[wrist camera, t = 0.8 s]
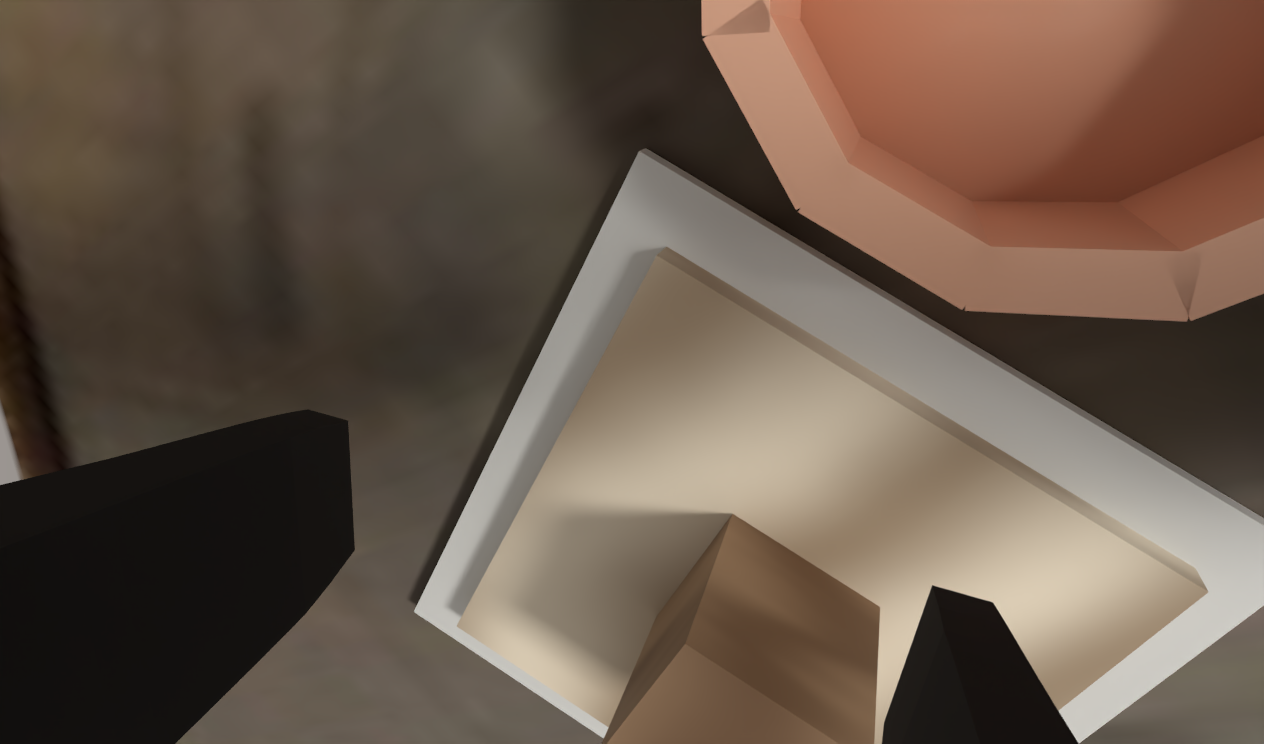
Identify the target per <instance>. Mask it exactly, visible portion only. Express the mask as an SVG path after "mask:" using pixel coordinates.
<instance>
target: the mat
mask: <svg viewBox="0 0 1264 744" xmlns="http://www.w3.org/2000/svg"><path fill="white" fill-rule="evenodd" d="M666 247H668V248H670V249H672V250H673V251H675V252H677V253H678V254H680V255H682V256H683V257H685V258H686V259H688V260H690V261H691V262H693V263H695V264H696V265H698V266H700V267H701V268H703V269H705V270H706V271H708V272H710V273H711V274H713V275H714V276H716V277H718V278H719V279H721V280H723V281H724V282H726V283H728V284H729V285H731V286H733V287H734V288H736V289H737V290H739V291H741V292H742V293H744V294H746V295H747V296H749V297H751V298H752V299H754V300H756V301H757V302H759V303H760V304H762V305H764V306H765V307H767V308H769V309H770V310H772V311H774V312H775V313H777V314H779V315H780V316H782V317H783V318H785V319H787V320H788V321H790V322H792V323H793V324H795V325H797V326H798V327H800V328H802V329H803V330H805V331H806V332H808V333H810V334H811V335H813V336H815V337H816V338H818V339H820V340H821V341H823V342H825V343H826V344H828V345H829V346H831V347H833V348H834V349H836V350H838V351H839V352H841V353H843V354H844V355H846V356H848V357H849V358H851V359H852V360H854V361H856V362H857V363H859V364H861V365H862V366H864V367H866V368H867V369H869V370H871V371H872V372H874V373H875V374H877V375H879V376H880V377H882V378H884V379H885V380H887V381H889V382H890V383H892V384H894V385H895V386H897V387H899V388H900V389H902V390H903V391H905V392H907V393H908V394H910V395H912V396H913V397H915V398H917V399H918V400H920V401H922V402H923V403H925V404H926V405H928V406H930V407H931V408H933V409H935V410H936V411H938V412H940V413H941V414H943V415H945V416H946V417H948V418H949V419H951V420H953V421H954V422H956V423H958V424H959V425H961V426H963V427H964V428H966V429H968V430H969V431H971V432H972V433H974V434H976V435H977V436H979V437H981V438H982V439H984V440H986V441H987V442H989V443H991V444H992V445H994V446H995V447H997V448H999V449H1000V450H1002V451H1004V452H1005V453H1007V454H1009V455H1010V456H1012V457H1014V458H1015V459H1017V460H1018V461H1020V462H1022V463H1023V464H1025V465H1027V466H1028V467H1030V468H1032V469H1033V470H1035V471H1037V472H1038V473H1040V474H1041V475H1043V476H1045V477H1046V478H1048V479H1050V480H1051V481H1053V482H1055V483H1056V484H1058V485H1060V486H1061V487H1063V488H1064V489H1066V490H1068V491H1069V492H1071V493H1073V494H1074V495H1076V496H1078V497H1079V498H1081V499H1083V500H1084V501H1086V502H1088V503H1089V504H1091V505H1092V506H1094V507H1096V508H1097V509H1099V510H1101V511H1102V512H1104V513H1106V514H1107V515H1109V516H1111V517H1112V518H1114V519H1115V520H1117V521H1119V522H1120V523H1122V524H1124V525H1125V526H1127V527H1129V528H1130V529H1132V530H1134V531H1135V532H1137V533H1138V534H1140V535H1142V536H1143V537H1145V538H1147V539H1148V540H1150V541H1152V542H1153V543H1155V544H1157V545H1158V546H1160V547H1161V548H1163V549H1165V550H1166V551H1168V552H1170V553H1171V554H1173V555H1175V556H1176V557H1178V558H1180V559H1181V560H1183V561H1184V562H1186V563H1188V564H1189V565H1191V566H1193V567H1194V568H1196V570H1197V572H1198V574H1199V575H1200V577H1201V579H1202V581H1203V583H1204V584H1205V586H1206V588H1207V590H1208V593H1207V594H1206V595H1204V596H1203V597H1202V598H1201V599H1199V600H1198V601H1197V602H1196V603H1194V604H1193V605H1192V606H1190V607H1189V608H1188V609H1187V610H1185V611H1184V612H1183V613H1182V614H1180V615H1179V616H1178V617H1177V618H1175V619H1174V620H1173V621H1171V622H1170V623H1169V624H1168V625H1166V626H1165V627H1164V628H1163V629H1161V630H1160V631H1159V632H1158V633H1156V634H1155V635H1154V636H1152V637H1151V638H1150V639H1149V640H1147V641H1146V642H1145V643H1144V644H1142V645H1141V646H1140V647H1139V648H1137V649H1136V650H1135V651H1133V652H1132V653H1131V654H1130V655H1128V656H1127V657H1126V658H1125V659H1123V660H1122V661H1121V662H1120V663H1118V664H1117V665H1116V666H1114V667H1113V668H1112V669H1111V670H1109V671H1108V672H1107V673H1106V674H1104V675H1103V676H1102V677H1101V678H1099V679H1098V680H1097V681H1095V682H1094V683H1093V684H1092V685H1090V686H1089V687H1088V688H1087V689H1085V690H1084V691H1083V692H1081V693H1080V694H1079V695H1078V696H1076V697H1075V698H1074V699H1073V700H1071V701H1070V702H1069V703H1068V704H1066V705H1065V706H1064V707H1062V708H1061V709H1060V710H1059V713H1060V714H1061V716H1062V717H1063V719H1064V721H1065V722H1066V724H1067V726H1068V727H1069V729H1070V730H1071V732H1072V734H1073V735H1074V737H1075V738H1076V740H1077V742H1078V743H1080V742H1081V741H1083V740H1084V739H1085V738H1087V737H1088V736H1089V735H1091V734H1092V733H1093V732H1095V731H1096V730H1097V729H1099V728H1100V727H1102V726H1103V725H1104V724H1106V723H1107V722H1108V721H1110V720H1111V719H1112V718H1114V717H1115V716H1116V715H1118V714H1119V713H1120V712H1122V711H1123V710H1124V709H1126V708H1127V707H1128V706H1130V705H1131V704H1132V703H1134V702H1135V701H1136V700H1138V699H1139V698H1140V697H1142V696H1143V695H1144V694H1146V693H1147V692H1148V691H1150V690H1151V689H1152V688H1154V687H1155V686H1156V685H1158V684H1159V683H1160V682H1162V681H1163V680H1164V679H1166V678H1167V677H1168V676H1170V675H1171V674H1172V673H1174V672H1175V671H1177V670H1178V669H1179V668H1181V667H1182V666H1183V665H1185V664H1186V663H1187V662H1189V661H1190V660H1191V659H1193V658H1194V657H1195V656H1197V655H1198V654H1199V653H1201V652H1202V651H1203V650H1205V649H1206V648H1207V647H1209V646H1210V645H1211V644H1213V643H1214V642H1215V641H1217V640H1218V639H1219V638H1221V637H1222V636H1223V635H1225V634H1226V633H1227V632H1229V631H1230V630H1231V629H1233V628H1234V627H1235V626H1237V625H1238V624H1239V623H1241V622H1242V621H1243V620H1245V619H1246V618H1247V617H1249V616H1250V615H1251V614H1253V613H1254V612H1256V611H1257V610H1258V609H1260V608H1261V607H1262V606H1264V518H1263V517H1261V516H1259V515H1258V514H1256V513H1254V512H1253V511H1251V510H1249V509H1248V508H1246V507H1244V506H1243V505H1241V504H1239V503H1238V502H1236V501H1234V500H1233V499H1231V498H1229V497H1228V496H1226V495H1224V494H1223V493H1221V492H1219V491H1218V490H1216V489H1214V488H1213V487H1211V486H1209V485H1208V484H1206V483H1204V482H1203V481H1201V480H1199V479H1198V478H1196V477H1194V476H1193V475H1191V474H1189V473H1188V472H1186V471H1184V470H1182V469H1181V468H1179V467H1177V466H1176V465H1174V464H1172V463H1171V462H1169V461H1167V460H1166V459H1164V458H1162V457H1161V456H1159V455H1157V454H1156V453H1154V452H1152V451H1151V450H1149V449H1147V448H1146V447H1144V446H1142V445H1141V444H1139V443H1137V442H1136V441H1134V440H1132V439H1131V438H1129V437H1127V436H1126V435H1124V434H1122V433H1121V432H1119V431H1117V430H1116V429H1114V428H1112V427H1111V426H1109V425H1107V424H1106V423H1104V422H1102V421H1101V420H1099V419H1097V418H1096V417H1094V416H1092V415H1091V414H1089V413H1087V412H1086V411H1084V410H1082V409H1081V408H1079V407H1077V406H1076V405H1074V404H1072V403H1071V402H1069V401H1067V400H1066V399H1064V398H1062V397H1061V396H1059V395H1057V394H1056V393H1054V392H1052V391H1051V390H1049V389H1047V388H1046V387H1044V386H1042V385H1041V384H1039V383H1037V382H1036V381H1034V380H1032V379H1031V378H1029V377H1027V376H1026V375H1024V374H1022V373H1021V372H1019V371H1017V370H1016V369H1014V368H1012V367H1011V366H1009V365H1007V364H1006V363H1004V362H1002V361H1001V360H999V359H997V358H996V357H994V356H992V355H991V354H989V353H987V352H986V351H984V350H982V349H981V348H979V347H977V346H975V345H974V344H972V343H970V342H969V341H967V340H965V339H964V338H962V337H960V336H959V335H957V334H955V333H954V332H952V331H950V330H949V329H947V328H945V327H944V326H942V325H940V324H939V323H937V322H935V321H934V320H932V319H930V318H929V317H927V316H925V315H924V314H922V313H920V312H919V311H917V310H915V309H914V308H912V307H910V306H909V305H907V304H905V303H904V302H902V301H900V300H899V299H897V298H895V297H894V296H892V295H890V294H889V293H887V292H885V291H884V290H882V289H880V288H879V287H877V286H875V285H874V284H872V283H870V282H869V281H867V280H865V279H864V278H862V277H860V276H859V275H857V274H855V273H854V272H852V271H850V270H849V269H847V268H845V267H844V266H842V265H840V264H839V263H837V262H835V261H834V260H832V259H830V258H829V257H827V256H825V255H824V254H822V253H820V252H819V251H817V250H815V249H814V248H812V247H810V246H809V245H807V244H805V243H804V242H802V241H800V240H799V239H797V238H795V237H794V236H792V235H790V234H789V233H787V232H785V231H784V230H782V229H780V228H779V227H777V226H775V225H774V224H772V223H770V222H768V221H767V220H765V219H763V218H762V217H760V216H758V215H757V214H755V213H753V212H752V211H750V210H748V209H747V208H745V207H743V206H742V205H740V204H738V203H737V202H735V201H733V200H732V199H730V198H728V197H727V196H725V195H723V194H722V193H720V192H718V191H717V190H715V189H713V188H712V187H710V186H708V185H707V184H705V183H703V182H702V181H700V180H698V179H697V178H695V177H693V176H692V175H690V174H688V173H687V172H685V171H683V170H682V169H680V168H678V167H677V166H675V165H673V164H672V163H670V162H668V161H667V160H665V159H663V158H662V157H660V156H658V155H657V154H655V153H653V152H652V151H650V150H648V149H647V148H645V149H643V150H640V151H639V152H638V154H637V156H636V158H635V160H634V162H633V165H632V167H631V169H630V171H629V173H628V175H627V177H626V179H625V181H624V183H623V185H622V187H621V189H620V191H619V193H618V195H617V197H616V199H615V201H614V203H613V205H612V207H611V210H610V212H609V214H608V216H607V218H606V220H605V222H604V224H603V226H602V228H601V230H600V232H599V234H598V236H597V238H596V240H595V242H594V244H593V246H592V248H591V250H590V252H589V255H588V257H587V259H586V261H585V263H584V265H583V267H582V269H581V271H580V273H579V275H578V277H577V279H576V281H575V283H574V285H573V287H572V289H571V291H570V293H569V295H568V297H567V300H566V302H565V304H564V306H563V308H562V310H561V312H560V314H559V316H558V318H557V320H556V322H555V324H554V326H553V328H552V330H551V332H550V334H549V336H548V338H547V340H546V342H545V345H544V347H543V349H542V351H541V353H540V355H539V357H538V359H537V361H536V363H535V365H534V367H533V369H532V371H531V373H530V375H529V377H528V379H527V381H526V383H525V385H524V387H523V389H522V392H521V394H520V396H519V398H518V400H517V402H516V404H515V406H514V408H513V410H512V412H511V414H510V416H509V418H508V420H507V422H506V424H505V426H504V428H503V430H502V432H501V434H500V437H499V439H498V441H497V443H496V445H495V447H494V449H493V451H492V453H491V455H490V457H489V459H488V461H487V463H486V465H485V467H484V469H483V471H482V473H481V475H480V477H479V479H478V482H477V484H476V486H475V488H474V490H473V492H472V494H471V496H470V498H469V500H468V502H467V504H466V506H465V508H464V510H463V512H462V514H461V516H460V518H459V520H458V522H457V524H456V527H455V529H454V531H453V533H452V535H451V537H450V539H449V541H448V543H447V545H446V547H445V549H444V551H443V553H442V555H441V557H440V559H439V561H438V563H437V565H436V567H435V569H434V572H433V574H432V576H431V578H430V580H429V582H428V584H427V586H426V588H425V590H424V592H423V594H422V596H421V598H420V600H419V602H418V604H417V606H416V608H415V610H414V612H415V613H416V614H418V615H419V616H421V617H422V618H424V619H425V620H427V621H428V622H430V623H431V624H433V625H434V626H436V627H437V628H439V629H440V630H442V631H443V632H445V633H446V634H448V635H449V636H451V637H452V638H454V639H455V640H457V641H458V642H460V643H461V644H463V645H464V646H466V647H467V648H469V649H470V650H472V651H473V652H475V653H476V654H478V655H479V656H481V657H482V658H484V659H485V660H487V661H488V662H490V663H491V664H493V665H494V666H496V667H497V668H499V669H500V670H502V671H503V672H505V673H506V674H508V675H509V676H511V677H512V678H514V679H515V680H517V681H518V682H520V683H521V684H523V685H524V686H526V687H527V688H529V689H530V690H532V691H533V692H535V693H536V694H538V695H539V696H541V697H542V698H544V699H545V700H547V701H548V702H550V703H551V704H553V705H554V706H556V707H557V708H559V709H560V710H562V711H563V712H565V713H566V714H568V715H569V716H571V717H572V718H574V719H575V720H577V721H578V722H580V723H581V724H583V725H584V726H586V727H587V728H589V729H590V730H592V731H593V732H595V733H596V734H598V735H599V736H601V737H602V738H604V737H605V735H606V732H607V730H608V728H609V727H607V726H606V725H604V724H603V723H601V722H600V721H598V720H597V719H595V718H594V717H592V716H591V715H589V714H588V713H586V712H585V711H583V710H582V709H580V708H579V707H577V706H576V705H574V704H573V703H571V702H569V701H568V700H566V699H565V698H563V697H562V696H560V695H559V694H557V693H556V692H554V691H553V690H551V689H550V688H548V687H547V686H545V685H544V684H542V683H541V682H539V681H538V680H536V679H535V678H533V677H532V676H530V675H529V674H527V673H526V672H524V671H523V670H521V669H520V668H518V667H517V666H515V665H514V664H512V663H511V662H509V661H508V660H506V659H505V658H503V657H502V656H500V655H499V654H497V653H496V652H494V651H493V650H491V649H490V648H488V647H487V646H485V645H484V644H482V643H481V642H479V641H478V640H476V639H475V638H473V637H472V636H470V635H469V634H467V633H466V632H464V631H463V630H461V629H460V628H458V627H457V624H458V622H459V620H460V619H461V617H462V615H463V613H464V611H465V609H466V607H467V606H468V604H469V602H470V600H471V598H472V596H473V594H474V593H475V591H476V589H477V587H478V585H479V583H480V582H481V580H482V578H483V576H484V574H485V572H486V570H487V569H488V567H489V565H490V563H491V561H492V559H493V557H494V556H495V554H496V552H497V550H498V548H499V546H500V544H501V543H502V541H503V539H504V537H505V535H506V533H507V532H508V530H509V528H510V526H511V524H512V522H513V520H514V519H515V517H516V515H517V513H518V511H519V509H520V507H521V506H522V504H523V502H524V500H525V498H526V496H527V494H528V493H529V491H530V489H531V487H532V485H533V483H534V481H535V480H536V478H537V476H538V474H539V472H540V470H541V469H542V467H543V465H544V463H545V461H546V459H547V457H548V456H549V454H550V452H551V450H552V448H553V446H554V444H555V443H556V441H557V439H558V437H559V435H560V433H561V431H562V430H563V428H564V426H565V424H566V422H567V420H568V419H569V417H570V415H571V413H572V411H573V409H574V407H575V406H576V404H577V402H578V400H579V398H580V396H581V394H582V393H583V391H584V389H585V387H586V385H587V383H588V381H589V380H590V378H591V376H592V374H593V372H594V370H595V368H596V367H597V365H598V363H599V361H600V359H601V357H602V356H603V354H604V352H605V350H606V348H607V346H608V344H609V343H610V341H611V339H612V337H613V335H614V333H615V331H616V330H617V328H618V326H619V324H620V322H621V320H622V318H623V317H624V315H625V313H626V311H627V309H628V307H629V306H630V304H631V302H632V300H633V298H634V296H635V294H636V293H637V291H638V289H639V287H640V285H641V283H642V281H643V280H644V278H645V276H646V274H647V272H648V270H649V268H650V267H651V265H652V263H653V261H654V259H655V257H656V255H658V254H659V253H660V252H661V251H662V250H663V249H664V248H666Z"/></svg>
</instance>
